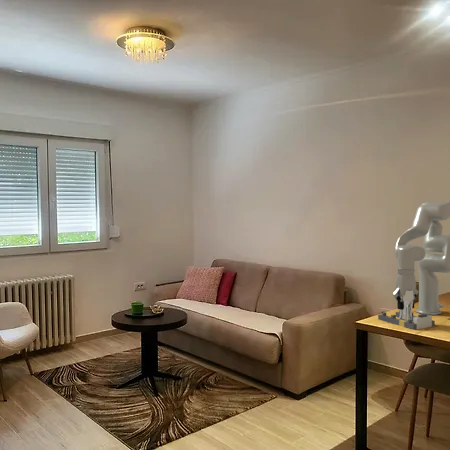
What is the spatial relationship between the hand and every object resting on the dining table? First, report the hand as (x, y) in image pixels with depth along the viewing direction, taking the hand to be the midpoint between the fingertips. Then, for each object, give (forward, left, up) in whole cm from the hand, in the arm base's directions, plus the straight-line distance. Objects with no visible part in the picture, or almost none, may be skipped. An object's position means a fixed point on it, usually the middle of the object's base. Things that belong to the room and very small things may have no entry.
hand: (405, 308), depth 220 cm
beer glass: (0, 0, -6) cm, 6 cm away
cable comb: (0, 0, -7) cm, 7 cm away
